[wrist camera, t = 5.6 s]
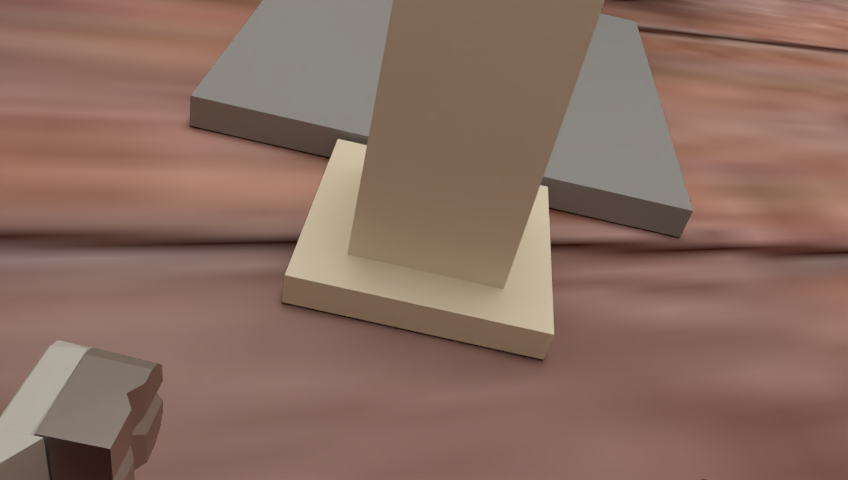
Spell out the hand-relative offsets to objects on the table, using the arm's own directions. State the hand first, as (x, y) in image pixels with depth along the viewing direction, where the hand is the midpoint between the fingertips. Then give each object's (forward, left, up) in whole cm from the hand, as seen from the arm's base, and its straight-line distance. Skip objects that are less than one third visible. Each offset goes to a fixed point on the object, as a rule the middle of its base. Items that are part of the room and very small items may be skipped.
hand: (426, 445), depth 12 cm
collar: (+6, +11, -6) cm, 13 cm away
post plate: (+12, +22, -6) cm, 26 cm away
